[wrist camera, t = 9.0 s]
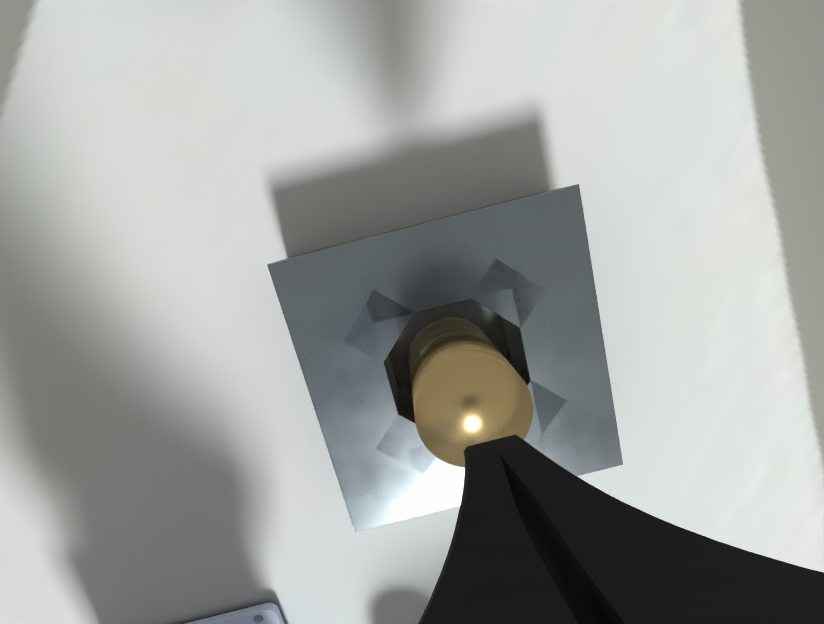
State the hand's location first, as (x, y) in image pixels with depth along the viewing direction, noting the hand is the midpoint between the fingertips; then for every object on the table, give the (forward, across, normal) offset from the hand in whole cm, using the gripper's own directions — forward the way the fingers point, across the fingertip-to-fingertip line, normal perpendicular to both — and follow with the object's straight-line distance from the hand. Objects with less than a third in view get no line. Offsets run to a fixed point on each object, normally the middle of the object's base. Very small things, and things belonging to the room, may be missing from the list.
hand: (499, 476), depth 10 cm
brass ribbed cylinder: (+10, 0, 0) cm, 10 cm away
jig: (+10, 0, 0) cm, 10 cm away
